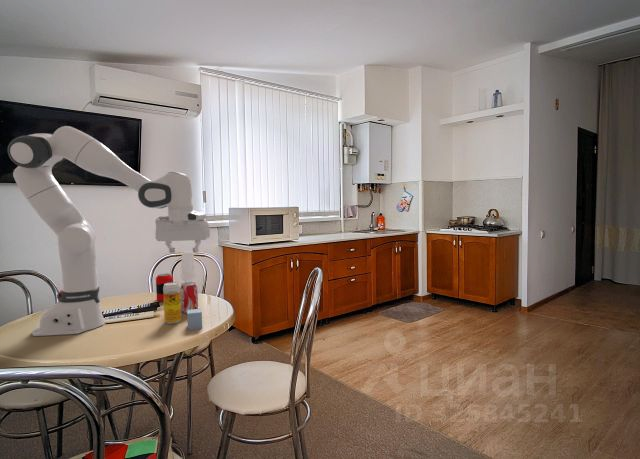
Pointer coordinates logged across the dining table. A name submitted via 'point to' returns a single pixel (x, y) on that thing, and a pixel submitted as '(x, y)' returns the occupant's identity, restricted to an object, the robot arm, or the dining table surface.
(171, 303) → the beer can
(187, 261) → the champagne flute
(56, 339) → the dining table surface
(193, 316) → the slate block
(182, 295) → the soda can
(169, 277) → the soda can
